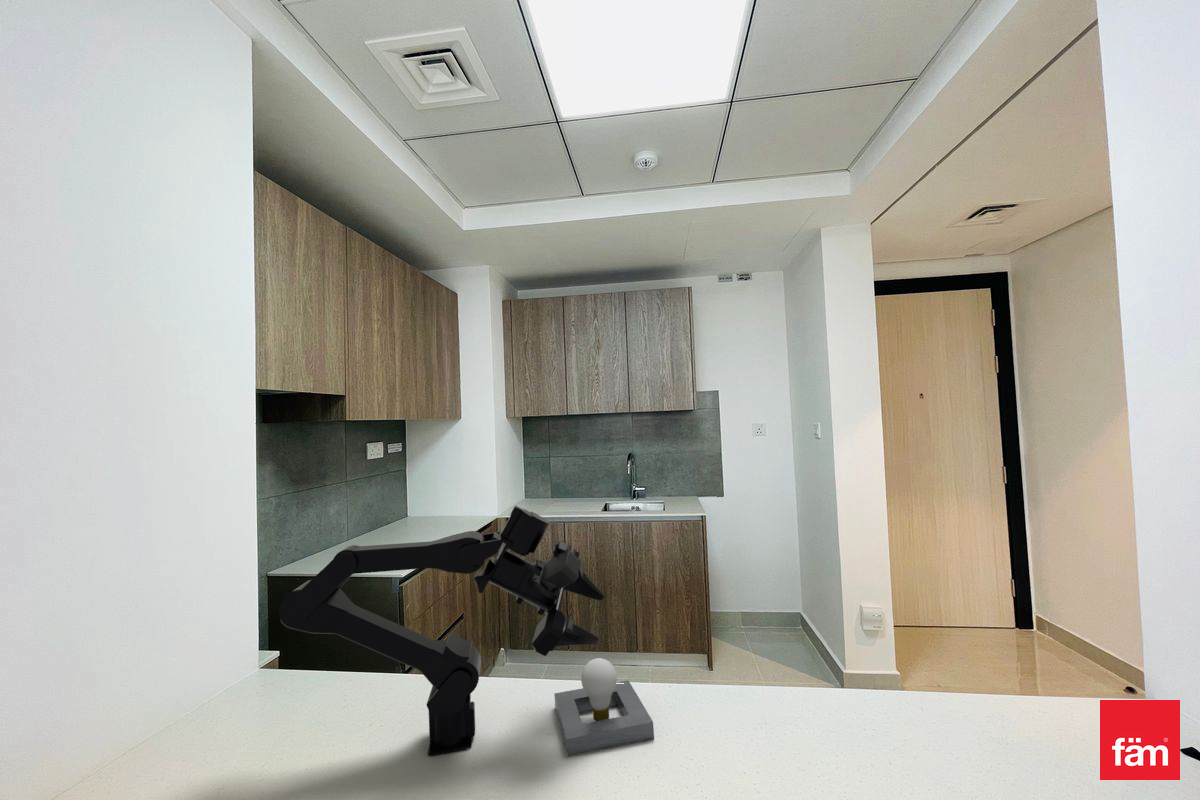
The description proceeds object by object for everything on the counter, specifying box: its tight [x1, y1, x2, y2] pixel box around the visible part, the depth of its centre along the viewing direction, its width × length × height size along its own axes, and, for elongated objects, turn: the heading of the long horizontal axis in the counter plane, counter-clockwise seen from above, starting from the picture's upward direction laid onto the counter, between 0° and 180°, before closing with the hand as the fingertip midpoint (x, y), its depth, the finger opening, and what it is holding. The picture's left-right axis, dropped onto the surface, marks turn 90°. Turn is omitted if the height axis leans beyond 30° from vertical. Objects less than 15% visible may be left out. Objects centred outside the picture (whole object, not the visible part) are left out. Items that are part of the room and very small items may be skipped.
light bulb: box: [580, 657, 618, 722], centre depth 80 cm, size 6×6×10 cm
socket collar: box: [554, 679, 655, 757], centre depth 80 cm, size 14×14×2 cm
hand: (600, 618), depth 83 cm, fingers open, 9 cm apart
